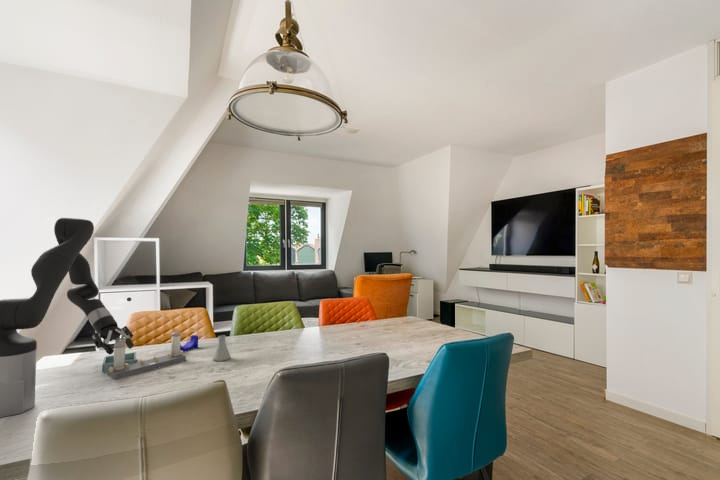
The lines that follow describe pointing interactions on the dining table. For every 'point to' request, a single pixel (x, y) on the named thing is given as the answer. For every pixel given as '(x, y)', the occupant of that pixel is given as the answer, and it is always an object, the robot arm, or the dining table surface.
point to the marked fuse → (120, 340)
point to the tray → (109, 361)
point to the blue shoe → (190, 344)
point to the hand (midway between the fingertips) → (122, 350)
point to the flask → (221, 350)
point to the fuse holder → (146, 365)
